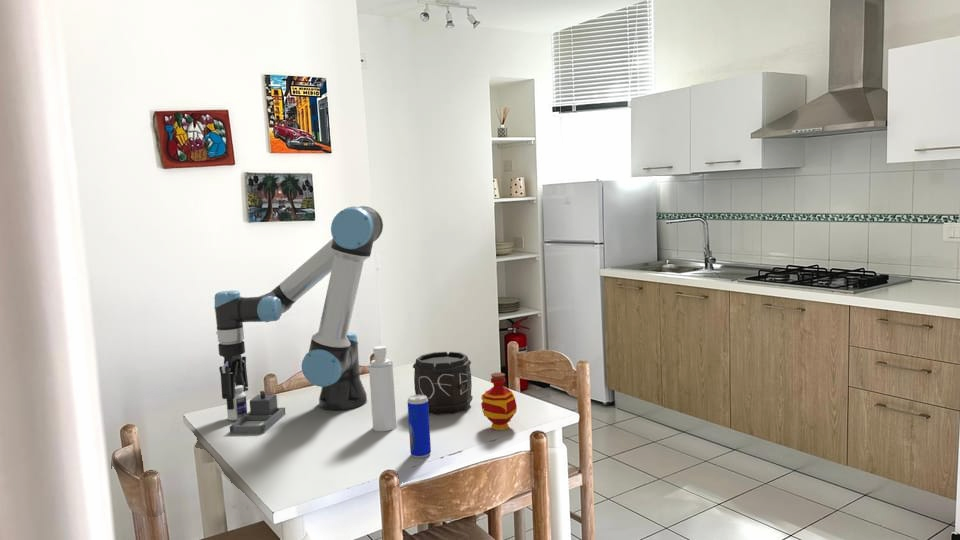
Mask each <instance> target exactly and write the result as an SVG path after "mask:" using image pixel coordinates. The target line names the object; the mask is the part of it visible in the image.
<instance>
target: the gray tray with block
mask: <svg viewBox="0 0 960 540" xmlns="http://www.w3.org/2000/svg"><path fill="white" fill-rule="evenodd" d="M259 392H260V393H259V394H257V395H255V396H254V397H253V398H251V399H250V400H249V407H250V409H249V412H248V411H247V414H246V415H244V416H243V417H242V418H240V419H239V420H237V421H234V423H232V424H231V425H229V434H231V435H232V434H233V435H234V434H235V435H236V434H239V435H240V434H243V435H244V434H265V433H266V432H267V431H268V430H269V429H271V428H272V427H273V426H274V425H275V424H276V423H277V422H279V420H280V419H283V417H284V416H285V415H286V407H278V398H277V394H266V390H260V391H259Z"/></svg>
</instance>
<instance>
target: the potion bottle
mask: <svg viewBox="0 0 960 540" xmlns="http://www.w3.org/2000/svg"><path fill="white" fill-rule="evenodd" d="M490 376H491V378H490V383H491V384H493V386H492V387H491V388H489V389H488V390H486V391H485V392H484V393H483V394H482V395H481V401H482V402H481V403H480V405H481V406H480V407H481V410H482V413H483V416H484V417H486V418H487V419H488V420H489V421H490V422H491V425H490V427H491V429H492V430H496V431H500V430H501V431H502V430H506V429H508V428H510V424H509V422H511V419H512V418H513V417H514V416H515V414H517V410H518V407H517V402H516V397H515V394H514V393H513V391H512V390H511V389H509V388H508V387H507V386H505V385H504V383H506V382H507V381H506V378H505V377H506V374H505V373H503V372H493V373H491V374H490Z"/></svg>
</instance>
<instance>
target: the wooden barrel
mask: <svg viewBox="0 0 960 540" xmlns="http://www.w3.org/2000/svg"><path fill="white" fill-rule="evenodd" d="M471 364H472V361H471V360H470V359H469V358H468V355H466V353H465V354H464V353H463V352H460V351H459V352H457V351H450V352H449V353H448V352H447V351H438V352H437V351H435V352H431V353H429V352H428V353H426V354H421V355H419V356H418V357H417V358H416V359H415V362H414V363H413V364H412V368H413V369H414V371H413V374H414V375H413V379H414V380H413V381H414V384H413V385H414V393H415V394H414V395H426V396H427V399H428V408H429V415H437V416H440V415H442V416H443V415H452V414H457V413H460V412H464V411H466V410H467V409H468V407H469V406H470V403H471V402H472V400H473V398H474V397H473V396H472V387H473V386H472V384H473V383H472V371H471Z"/></svg>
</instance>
